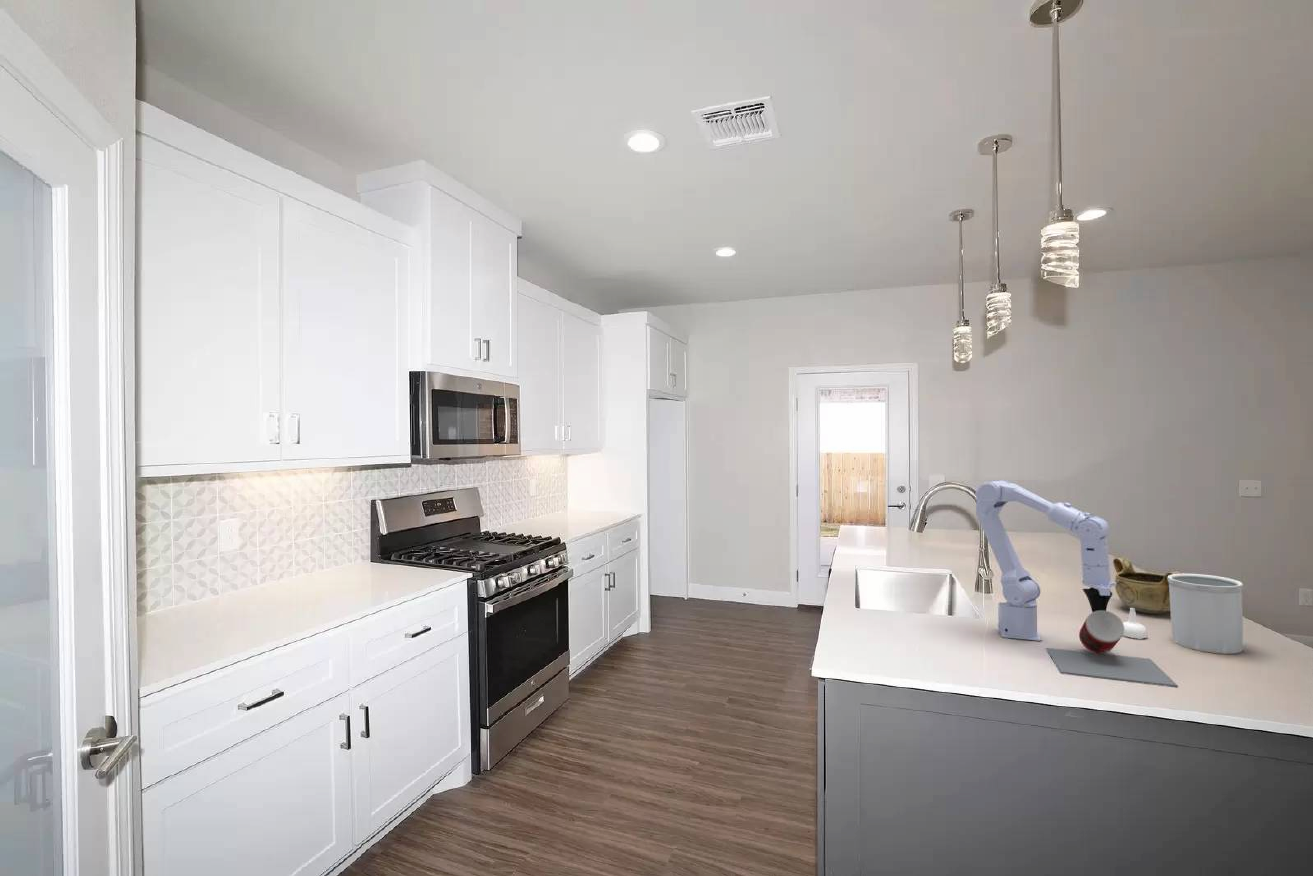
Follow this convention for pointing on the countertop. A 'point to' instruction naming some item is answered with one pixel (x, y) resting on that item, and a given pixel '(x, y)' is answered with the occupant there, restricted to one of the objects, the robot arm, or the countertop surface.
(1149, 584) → the ceramic bowl
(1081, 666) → the slate mat
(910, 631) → the countertop surface
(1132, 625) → the garlic bulb
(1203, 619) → the utensil holder
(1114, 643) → the canned food
